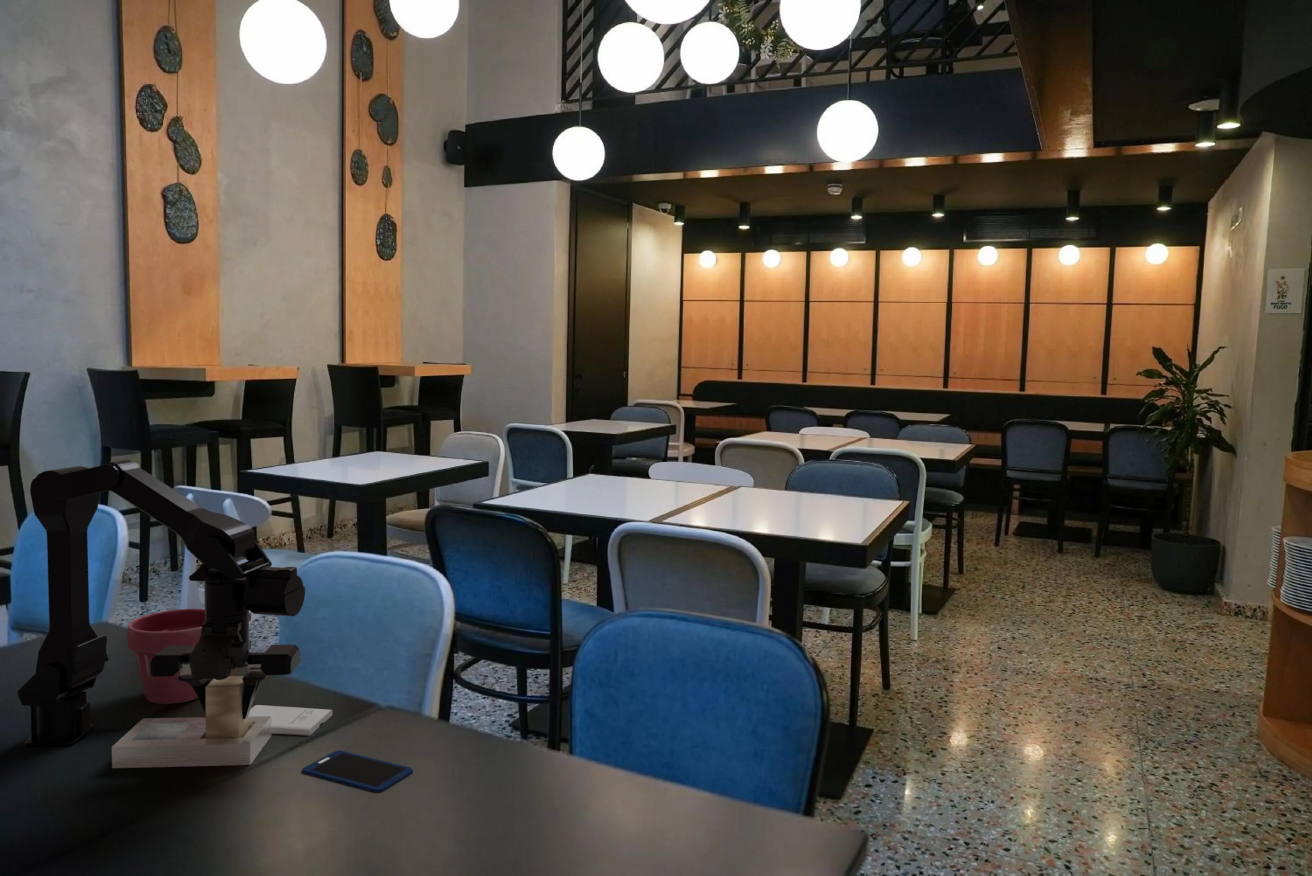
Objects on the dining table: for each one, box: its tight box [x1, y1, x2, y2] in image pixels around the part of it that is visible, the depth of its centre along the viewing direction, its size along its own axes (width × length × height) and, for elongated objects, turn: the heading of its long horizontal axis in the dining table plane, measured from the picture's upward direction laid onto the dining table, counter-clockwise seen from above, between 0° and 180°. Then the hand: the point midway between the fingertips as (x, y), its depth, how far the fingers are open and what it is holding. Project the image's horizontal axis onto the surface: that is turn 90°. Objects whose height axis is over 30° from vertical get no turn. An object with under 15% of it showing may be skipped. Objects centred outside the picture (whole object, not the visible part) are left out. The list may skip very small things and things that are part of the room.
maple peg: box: [205, 675, 249, 739], centre depth 131 cm, size 4×4×8 cm
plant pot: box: [126, 608, 205, 705], centre depth 152 cm, size 14×14×13 cm
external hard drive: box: [249, 704, 333, 736], centre depth 142 cm, size 2×8×12 cm
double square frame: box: [111, 716, 272, 769], centre depth 131 cm, size 18×10×3 cm, turn 97°
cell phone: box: [301, 750, 414, 793], centre depth 126 cm, size 7×14×1 cm, turn 67°
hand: (227, 718), depth 131 cm, fingers closed on maple peg, 4 cm apart
